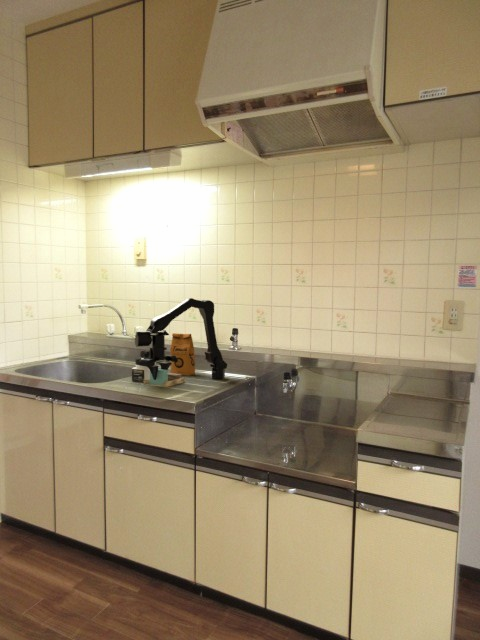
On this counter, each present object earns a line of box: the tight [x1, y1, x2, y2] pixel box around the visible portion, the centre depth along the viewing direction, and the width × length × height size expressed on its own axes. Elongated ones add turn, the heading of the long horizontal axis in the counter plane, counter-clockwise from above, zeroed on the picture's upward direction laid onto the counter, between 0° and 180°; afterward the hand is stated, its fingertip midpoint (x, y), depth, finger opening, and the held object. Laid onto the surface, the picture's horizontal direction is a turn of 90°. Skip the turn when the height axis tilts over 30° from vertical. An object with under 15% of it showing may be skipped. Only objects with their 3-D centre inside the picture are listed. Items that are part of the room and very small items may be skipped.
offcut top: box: [168, 372, 182, 379], centre depth 220 cm, size 4×8×2 cm, turn 60°
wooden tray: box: [143, 377, 186, 388], centre depth 217 cm, size 14×13×3 cm
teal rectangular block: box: [150, 368, 169, 386], centre depth 213 cm, size 2×9×7 cm, turn 56°
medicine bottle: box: [131, 356, 150, 383], centre depth 223 cm, size 7×7×12 cm
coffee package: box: [169, 332, 196, 377], centre depth 239 cm, size 10×12×22 cm
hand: (158, 379), depth 213 cm, fingers open, 5 cm apart
